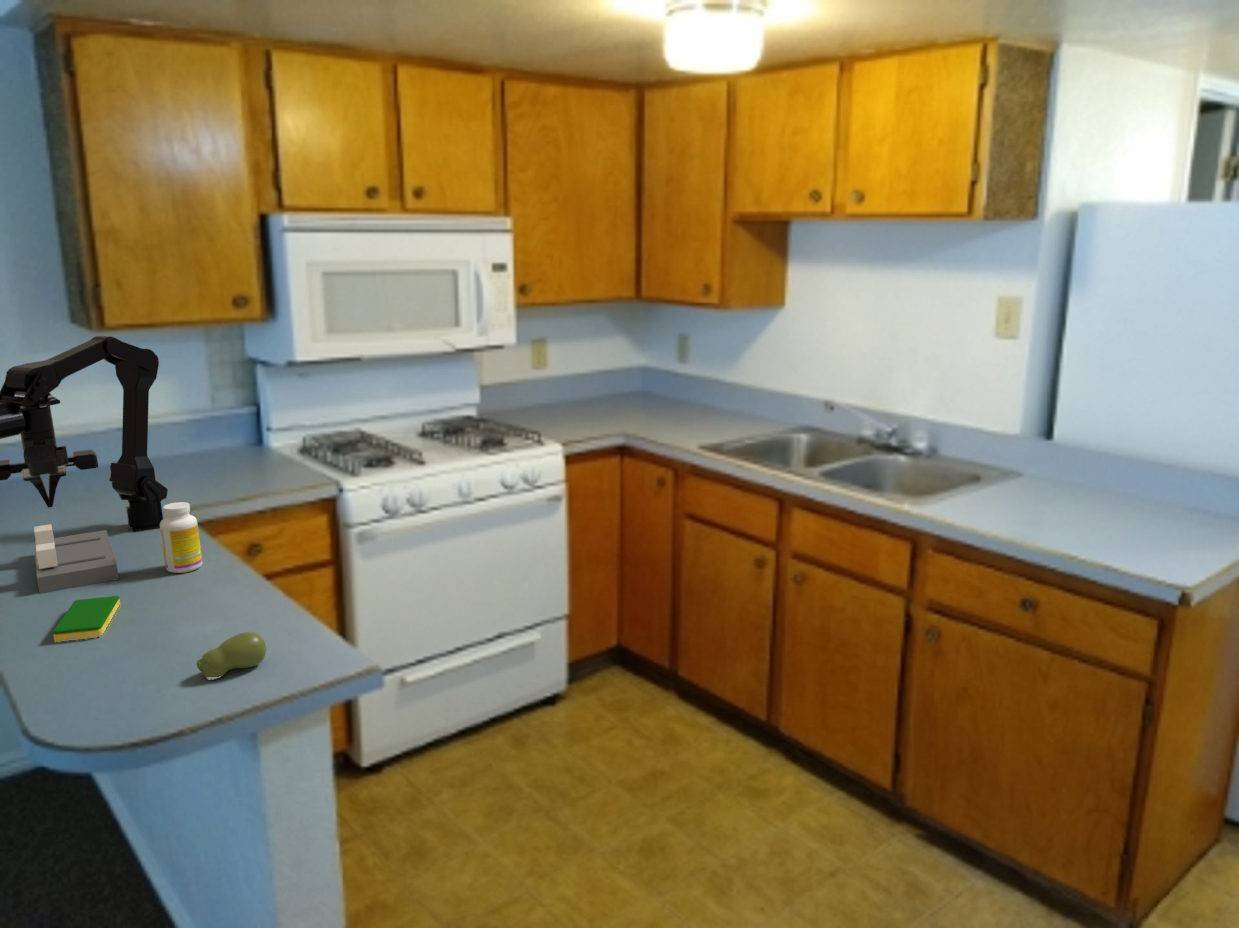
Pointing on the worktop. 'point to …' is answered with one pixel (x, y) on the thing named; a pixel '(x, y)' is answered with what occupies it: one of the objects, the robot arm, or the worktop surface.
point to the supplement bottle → (180, 539)
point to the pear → (233, 655)
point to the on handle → (46, 555)
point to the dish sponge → (86, 618)
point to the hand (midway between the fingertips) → (50, 506)
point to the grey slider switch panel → (79, 562)
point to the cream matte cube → (44, 534)
